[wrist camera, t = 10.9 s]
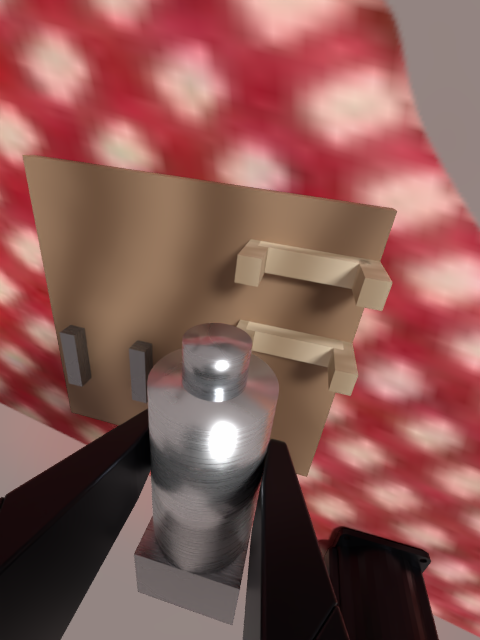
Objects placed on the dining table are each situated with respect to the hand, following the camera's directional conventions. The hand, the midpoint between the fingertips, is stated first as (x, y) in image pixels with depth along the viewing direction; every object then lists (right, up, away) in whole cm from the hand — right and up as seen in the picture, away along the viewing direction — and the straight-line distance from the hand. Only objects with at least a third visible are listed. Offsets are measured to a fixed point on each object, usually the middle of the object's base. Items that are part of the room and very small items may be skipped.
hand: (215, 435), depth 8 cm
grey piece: (0, 0, +1) cm, 1 cm away
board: (-2, +2, +11) cm, 12 cm away
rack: (+4, +4, +8) cm, 10 cm away
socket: (-8, 0, +12) cm, 15 cm away
